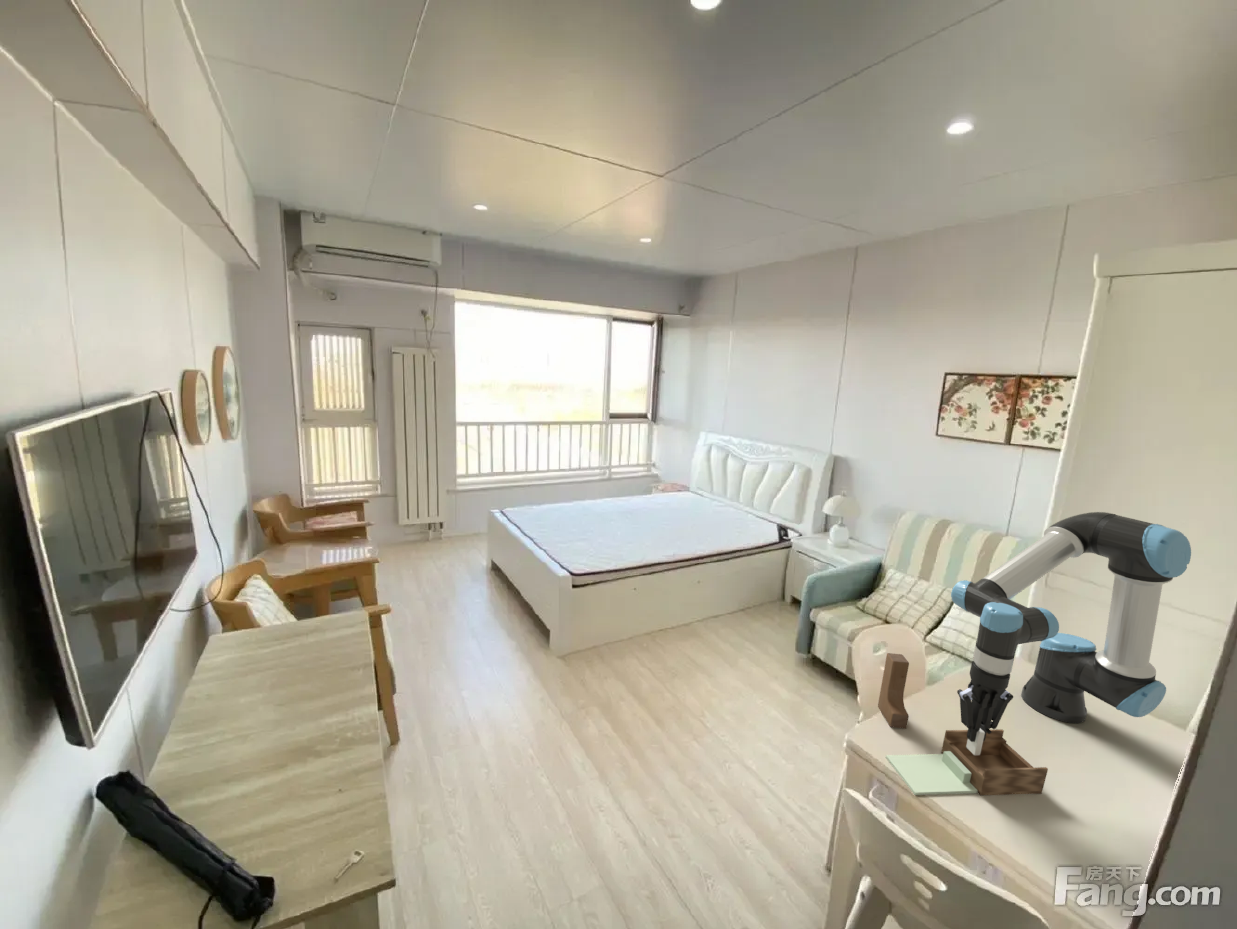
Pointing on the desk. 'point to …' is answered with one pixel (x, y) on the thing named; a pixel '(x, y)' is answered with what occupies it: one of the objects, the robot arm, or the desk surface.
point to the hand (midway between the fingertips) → (972, 751)
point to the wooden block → (894, 691)
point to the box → (995, 765)
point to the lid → (933, 773)
